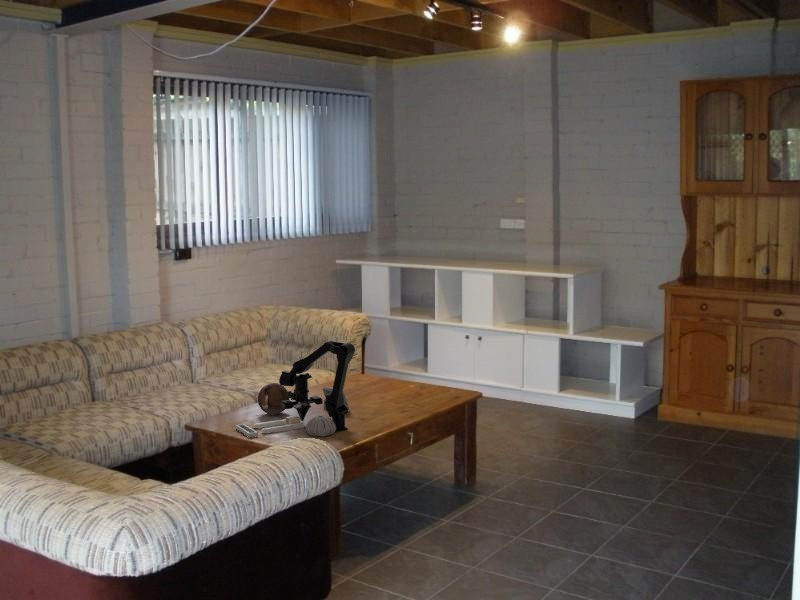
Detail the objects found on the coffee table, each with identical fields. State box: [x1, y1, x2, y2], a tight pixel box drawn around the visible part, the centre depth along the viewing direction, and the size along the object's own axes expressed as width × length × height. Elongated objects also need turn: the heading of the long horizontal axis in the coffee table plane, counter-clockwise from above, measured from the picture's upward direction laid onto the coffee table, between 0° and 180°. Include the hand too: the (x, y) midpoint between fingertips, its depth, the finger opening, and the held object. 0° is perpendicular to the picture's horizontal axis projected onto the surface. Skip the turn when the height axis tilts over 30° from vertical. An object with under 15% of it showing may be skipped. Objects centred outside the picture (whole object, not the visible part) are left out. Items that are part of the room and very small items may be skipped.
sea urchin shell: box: [305, 415, 337, 438], centre depth 397 cm, size 13×14×8 cm
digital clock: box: [322, 385, 350, 411], centre depth 439 cm, size 16×9×11 cm, turn 29°
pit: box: [235, 423, 259, 438], centre depth 399 cm, size 16×4×2 cm, turn 31°
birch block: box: [285, 415, 301, 425], centre depth 410 cm, size 5×5×4 cm
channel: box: [252, 418, 305, 434], centre depth 407 cm, size 11×20×2 cm, turn 121°
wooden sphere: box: [257, 382, 290, 416], centre depth 430 cm, size 15×15×15 cm
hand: (302, 420), depth 413 cm, fingers closed
